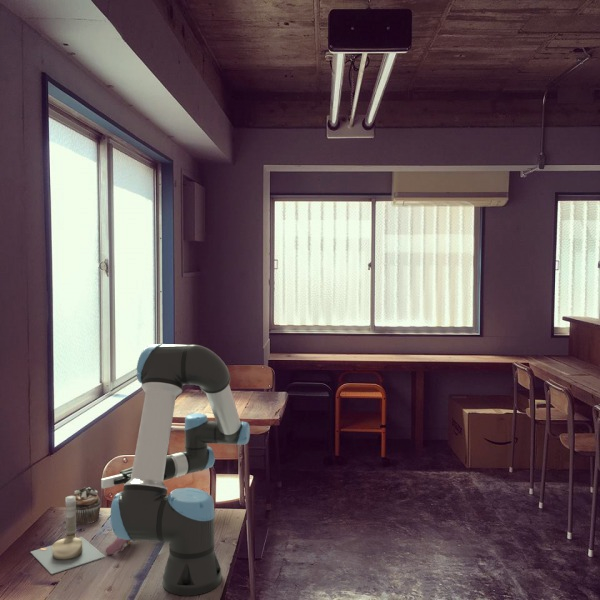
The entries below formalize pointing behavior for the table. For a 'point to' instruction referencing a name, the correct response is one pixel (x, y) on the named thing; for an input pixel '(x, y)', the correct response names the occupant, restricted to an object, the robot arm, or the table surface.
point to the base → (59, 565)
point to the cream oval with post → (68, 534)
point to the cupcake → (87, 505)
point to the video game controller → (117, 546)
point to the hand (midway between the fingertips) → (102, 483)
